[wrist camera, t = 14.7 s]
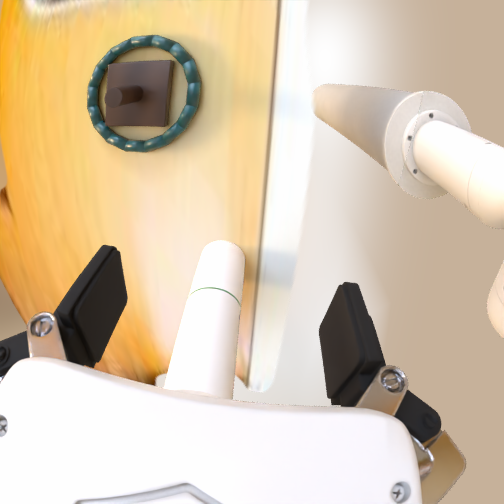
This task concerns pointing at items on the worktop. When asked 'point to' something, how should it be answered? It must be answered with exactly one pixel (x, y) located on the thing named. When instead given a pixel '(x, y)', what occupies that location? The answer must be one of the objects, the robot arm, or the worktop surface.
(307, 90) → the worktop surface
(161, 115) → the stand
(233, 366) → the cylindrical container
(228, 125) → the worktop surface
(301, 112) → the worktop surface
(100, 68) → the ring
